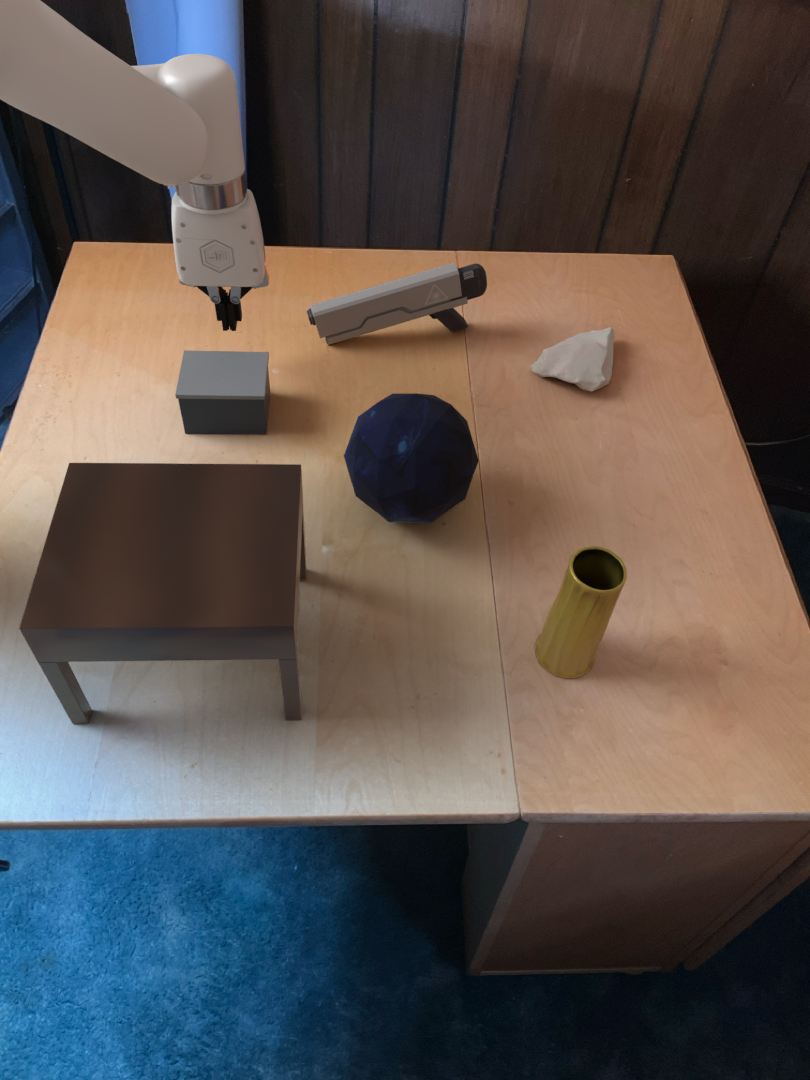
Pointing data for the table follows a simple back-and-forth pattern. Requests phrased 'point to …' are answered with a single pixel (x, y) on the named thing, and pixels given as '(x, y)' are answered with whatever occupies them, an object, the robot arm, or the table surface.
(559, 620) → the vase
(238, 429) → the storage box
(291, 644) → the miniature coffee table
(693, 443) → the table surface
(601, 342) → the stone
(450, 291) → the gun
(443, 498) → the decorative orb
